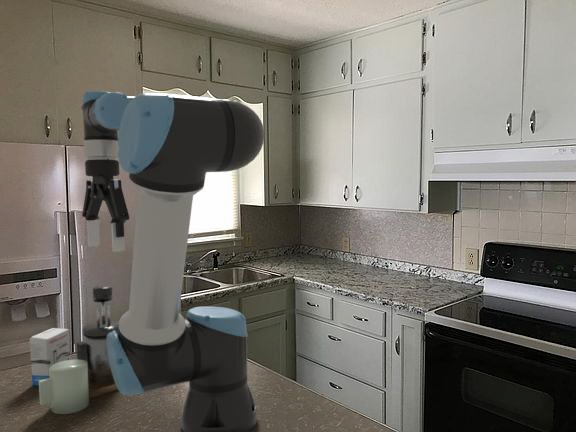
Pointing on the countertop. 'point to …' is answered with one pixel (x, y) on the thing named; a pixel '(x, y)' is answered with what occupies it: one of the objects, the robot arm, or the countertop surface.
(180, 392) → the countertop surface
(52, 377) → the sage mug
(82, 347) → the glass french press
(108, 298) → the plunger
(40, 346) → the ink box
